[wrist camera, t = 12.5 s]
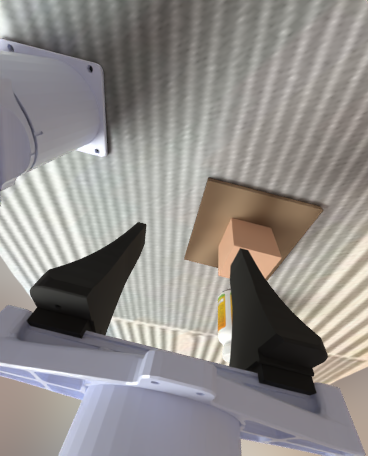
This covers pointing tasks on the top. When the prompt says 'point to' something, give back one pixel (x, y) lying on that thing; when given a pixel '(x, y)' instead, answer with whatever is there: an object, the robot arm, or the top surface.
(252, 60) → the top surface
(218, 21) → the top surface
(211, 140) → the top surface
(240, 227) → the terracotta block
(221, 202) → the walnut board
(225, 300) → the supplement bottle
